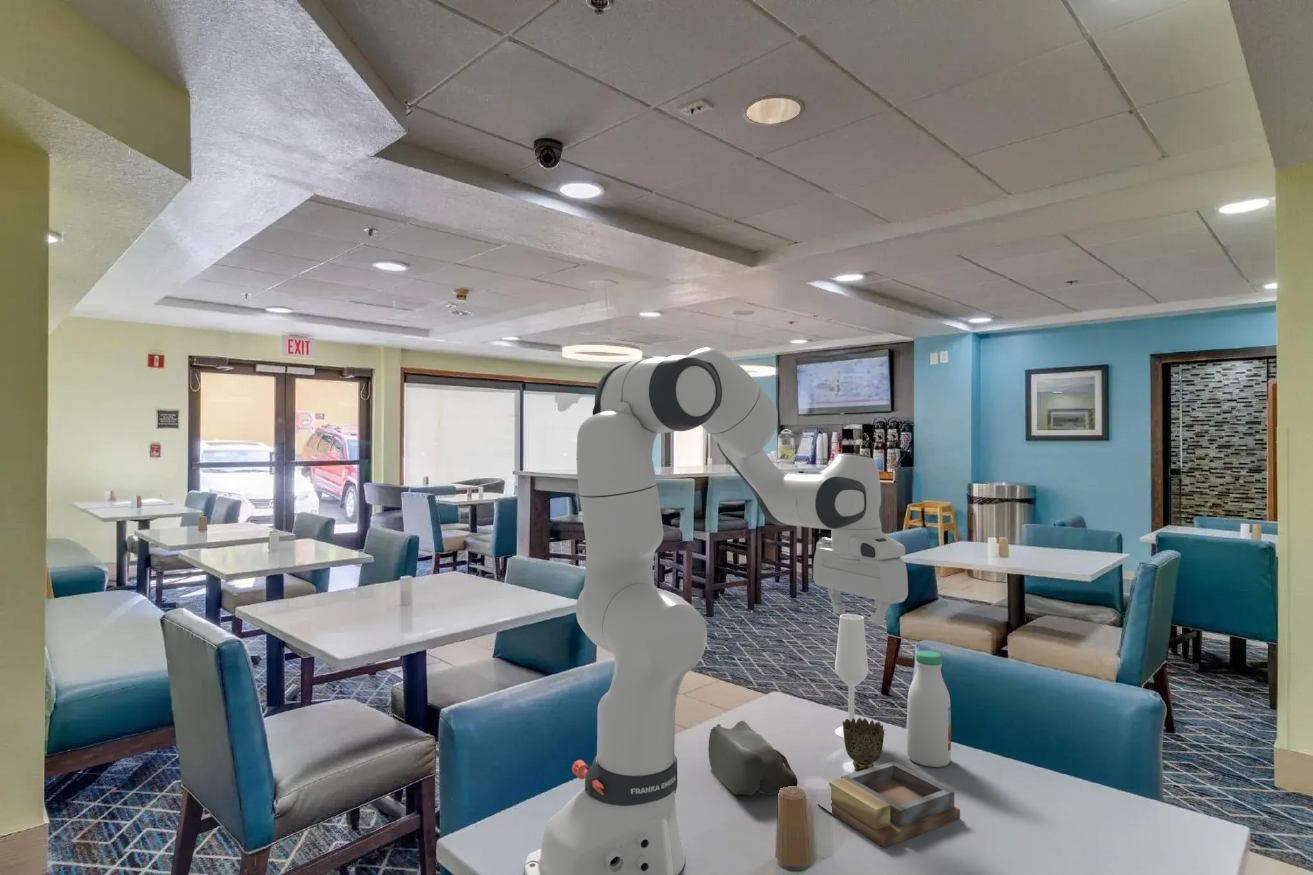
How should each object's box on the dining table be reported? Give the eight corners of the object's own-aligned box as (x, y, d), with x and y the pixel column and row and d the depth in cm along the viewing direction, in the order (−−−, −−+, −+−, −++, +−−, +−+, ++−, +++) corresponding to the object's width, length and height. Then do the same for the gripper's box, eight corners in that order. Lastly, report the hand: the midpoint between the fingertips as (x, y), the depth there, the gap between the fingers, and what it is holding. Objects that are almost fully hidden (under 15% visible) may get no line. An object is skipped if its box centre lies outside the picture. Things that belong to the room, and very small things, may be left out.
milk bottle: (944, 772, 127) (944, 661, 127) (901, 760, 132) (901, 654, 132) (955, 757, 133) (955, 652, 133) (914, 747, 138) (914, 645, 138)
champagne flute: (828, 728, 147) (828, 613, 147) (856, 725, 149) (856, 611, 149) (846, 741, 140) (846, 621, 141) (875, 737, 142) (875, 619, 143)
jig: (884, 847, 103) (884, 816, 103) (818, 805, 115) (818, 777, 115) (959, 818, 111) (960, 790, 111) (890, 781, 123) (891, 756, 123)
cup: (886, 780, 124) (887, 734, 124) (843, 775, 125) (844, 731, 125) (881, 761, 131) (882, 719, 131) (841, 758, 132) (841, 715, 133)
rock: (807, 799, 117) (807, 752, 117) (747, 811, 113) (747, 761, 113) (755, 755, 134) (756, 713, 134) (702, 763, 130) (702, 720, 130)
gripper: (804, 537, 134) (805, 609, 134) (887, 551, 117) (888, 634, 117) (829, 534, 138) (830, 604, 138) (913, 547, 120) (914, 628, 120)
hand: (857, 618), depth 127 cm, fingers open, 8 cm apart
